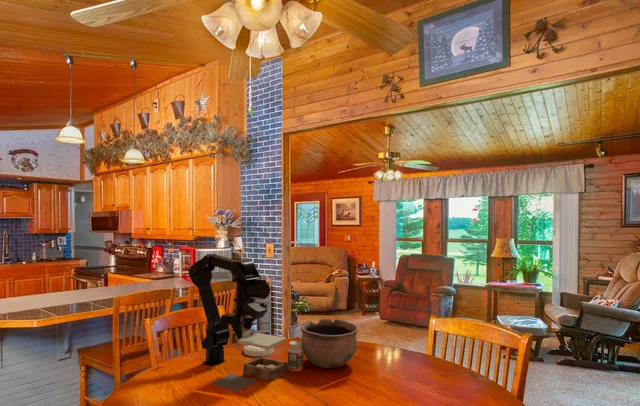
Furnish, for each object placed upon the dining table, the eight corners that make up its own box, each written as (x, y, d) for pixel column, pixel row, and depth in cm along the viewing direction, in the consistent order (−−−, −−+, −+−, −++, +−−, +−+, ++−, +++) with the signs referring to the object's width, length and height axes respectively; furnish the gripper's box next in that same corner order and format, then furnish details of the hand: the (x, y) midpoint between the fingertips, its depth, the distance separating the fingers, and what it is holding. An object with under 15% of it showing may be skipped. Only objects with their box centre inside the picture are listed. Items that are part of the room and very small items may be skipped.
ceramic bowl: (345, 353, 174) (345, 317, 175) (367, 372, 154) (367, 331, 154) (293, 358, 167) (294, 320, 168) (309, 378, 147) (310, 335, 147)
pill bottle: (301, 373, 152) (301, 345, 152) (285, 371, 153) (286, 344, 153) (304, 367, 157) (305, 341, 158) (289, 366, 158) (290, 339, 159)
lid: (228, 344, 149) (229, 332, 149) (248, 336, 158) (248, 325, 158) (267, 352, 140) (267, 340, 140) (286, 344, 150) (286, 332, 150)
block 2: (265, 373, 150) (265, 366, 150) (272, 371, 152) (272, 364, 152) (270, 375, 147) (270, 368, 148) (277, 373, 150) (277, 366, 150)
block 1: (254, 374, 149) (254, 367, 149) (258, 371, 151) (258, 364, 152) (261, 375, 148) (261, 368, 148) (265, 372, 150) (265, 365, 150)
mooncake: (238, 353, 173) (238, 344, 173) (262, 347, 181) (262, 339, 181) (254, 361, 164) (254, 351, 164) (279, 354, 172) (279, 345, 173)
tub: (243, 375, 148) (243, 364, 148) (261, 367, 157) (261, 356, 157) (270, 383, 142) (270, 371, 142) (287, 373, 151) (287, 362, 151)
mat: (210, 385, 140) (210, 383, 140) (231, 375, 149) (231, 373, 149) (237, 393, 134) (237, 391, 134) (257, 382, 142) (257, 380, 142)
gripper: (244, 302, 141) (243, 349, 140) (277, 293, 157) (276, 335, 157) (219, 298, 146) (218, 343, 146) (253, 290, 163) (252, 331, 162)
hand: (243, 338), depth 152 cm, fingers closed on lid, 4 cm apart
